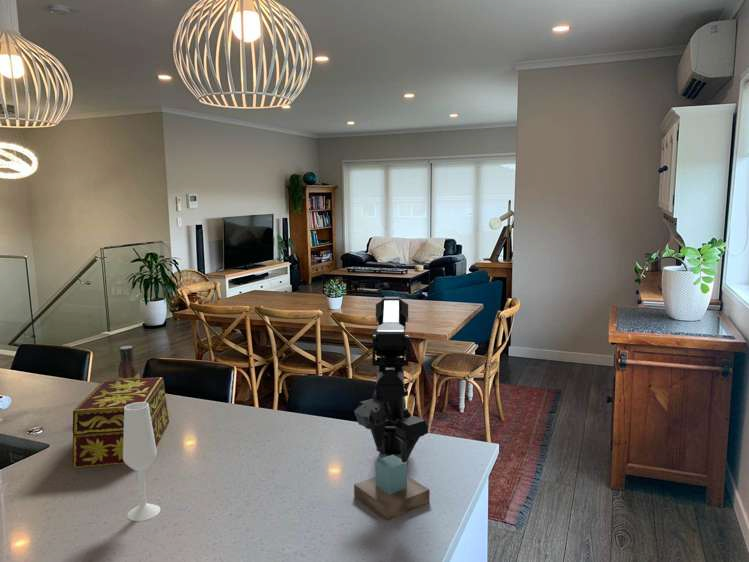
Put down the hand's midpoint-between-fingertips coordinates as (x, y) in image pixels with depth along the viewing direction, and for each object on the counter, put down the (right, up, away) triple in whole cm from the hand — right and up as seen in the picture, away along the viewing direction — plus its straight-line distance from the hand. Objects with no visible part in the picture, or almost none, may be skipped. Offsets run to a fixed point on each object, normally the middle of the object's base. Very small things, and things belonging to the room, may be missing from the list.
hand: (391, 454), depth 124 cm
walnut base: (0, -11, +2) cm, 11 cm away
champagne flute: (-54, -12, -3) cm, 55 cm away
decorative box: (-73, -7, +33) cm, 81 cm away
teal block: (0, -8, +1) cm, 8 cm away
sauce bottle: (-85, -3, +63) cm, 106 cm away
